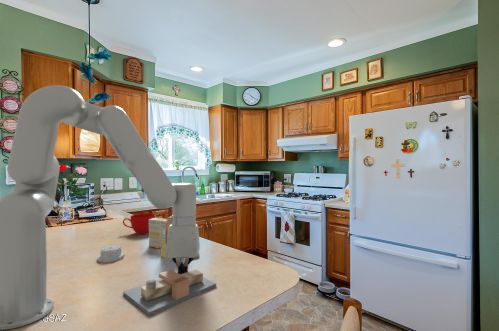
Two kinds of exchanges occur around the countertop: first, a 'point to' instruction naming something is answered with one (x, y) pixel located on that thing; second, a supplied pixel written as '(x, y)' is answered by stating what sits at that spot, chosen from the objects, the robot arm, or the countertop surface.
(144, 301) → the slate board
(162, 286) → the maple link
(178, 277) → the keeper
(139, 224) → the ceramic cup
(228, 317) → the countertop surface
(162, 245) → the candy box
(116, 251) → the mechanical component
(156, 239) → the supplement box
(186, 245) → the robot arm
